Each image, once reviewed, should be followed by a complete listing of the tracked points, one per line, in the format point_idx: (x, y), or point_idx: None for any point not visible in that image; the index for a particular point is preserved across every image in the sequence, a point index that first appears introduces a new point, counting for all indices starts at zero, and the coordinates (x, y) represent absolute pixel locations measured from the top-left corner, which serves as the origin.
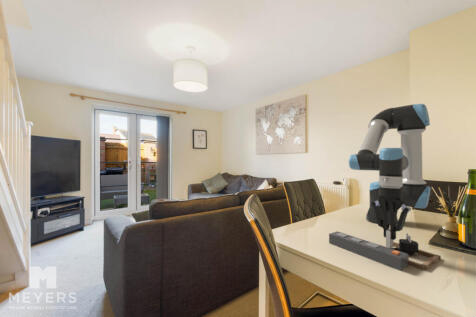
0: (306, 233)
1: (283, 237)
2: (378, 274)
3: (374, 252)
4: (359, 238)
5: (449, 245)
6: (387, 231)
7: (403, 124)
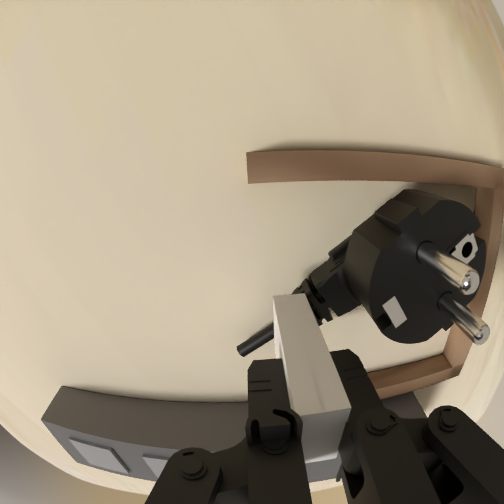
0: (4, 397)
1: (47, 457)
2: None
3: None
4: (160, 448)
5: None
6: (306, 455)
7: None
